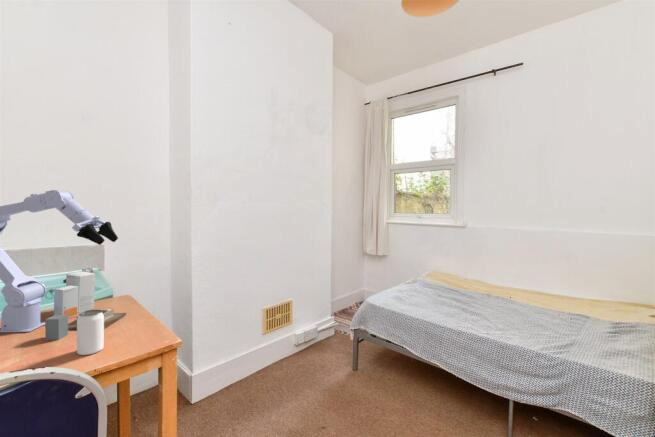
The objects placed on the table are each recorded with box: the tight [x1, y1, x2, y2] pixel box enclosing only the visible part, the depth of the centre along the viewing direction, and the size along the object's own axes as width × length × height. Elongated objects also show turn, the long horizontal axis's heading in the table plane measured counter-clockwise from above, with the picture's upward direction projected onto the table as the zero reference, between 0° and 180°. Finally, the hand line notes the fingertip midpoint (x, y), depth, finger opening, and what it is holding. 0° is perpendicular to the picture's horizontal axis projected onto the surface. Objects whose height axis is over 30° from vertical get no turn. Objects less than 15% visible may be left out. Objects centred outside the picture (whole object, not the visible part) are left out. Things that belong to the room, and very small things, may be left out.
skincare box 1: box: [53, 285, 79, 319], centre depth 115 cm, size 6×4×12 cm
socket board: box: [68, 308, 127, 331], centre depth 112 cm, size 14×14×4 cm
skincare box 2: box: [65, 270, 96, 314], centre depth 124 cm, size 8×7×16 cm
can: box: [76, 309, 105, 356], centre depth 90 cm, size 6×6×12 cm
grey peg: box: [44, 314, 69, 341], centre depth 99 cm, size 4×4×7 cm
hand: (109, 241), depth 107 cm, fingers open, 7 cm apart
